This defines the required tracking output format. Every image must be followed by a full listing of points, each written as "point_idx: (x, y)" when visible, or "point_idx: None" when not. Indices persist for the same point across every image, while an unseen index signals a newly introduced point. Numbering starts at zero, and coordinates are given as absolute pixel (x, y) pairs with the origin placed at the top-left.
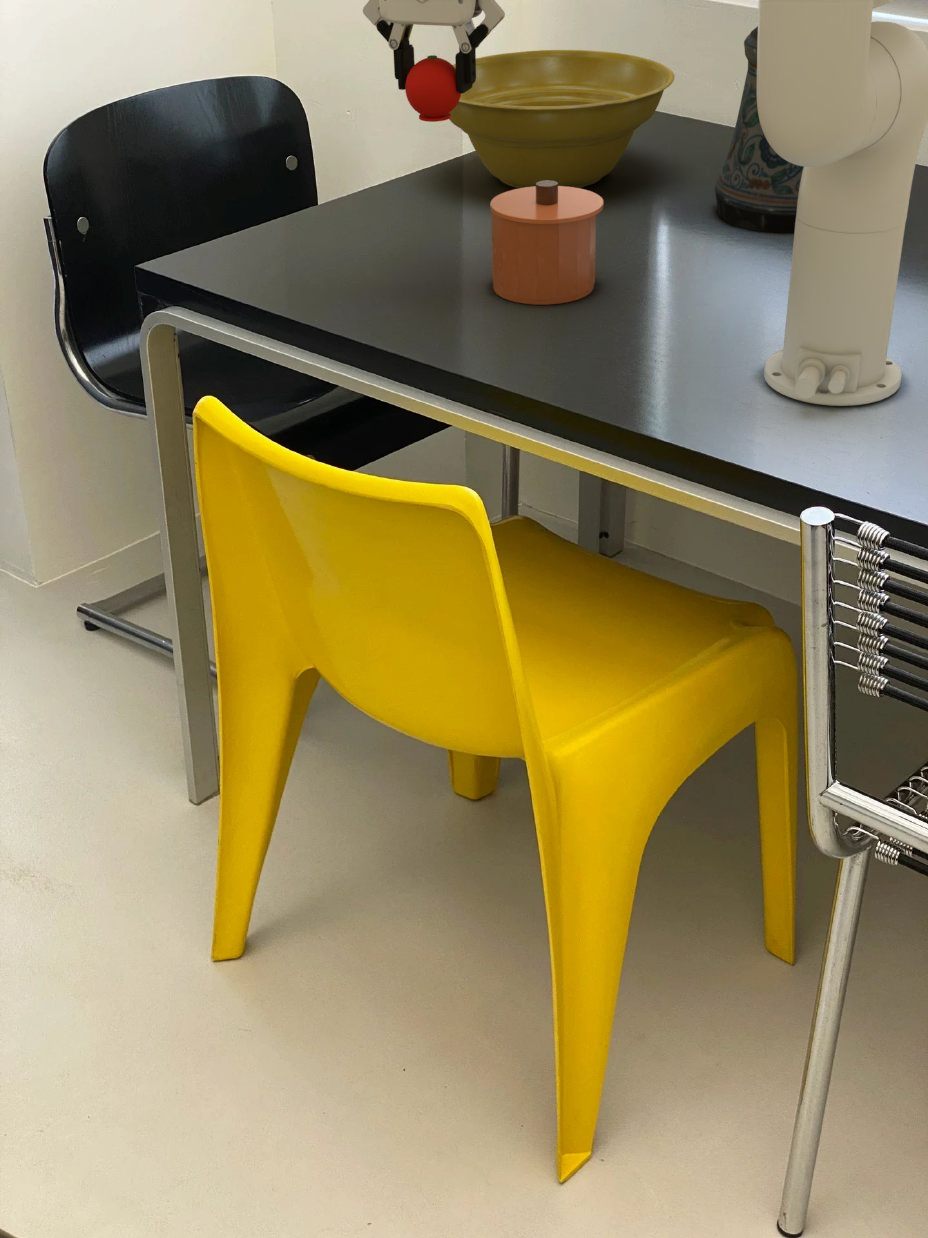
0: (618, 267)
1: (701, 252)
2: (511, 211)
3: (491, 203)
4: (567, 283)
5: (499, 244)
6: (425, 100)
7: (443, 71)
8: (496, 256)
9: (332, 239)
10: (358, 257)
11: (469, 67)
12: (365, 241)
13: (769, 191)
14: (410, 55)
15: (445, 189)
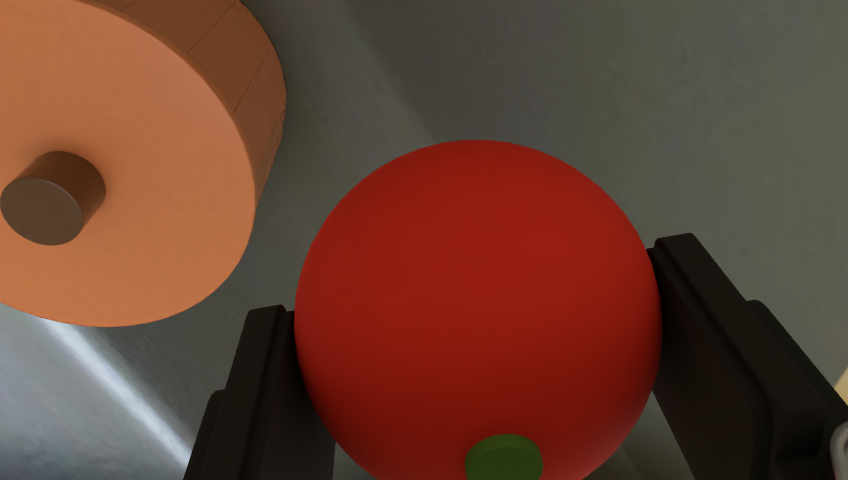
0: None
1: (34, 390)
2: (89, 45)
3: (211, 94)
4: None
5: (164, 3)
6: (430, 149)
7: (350, 354)
8: (198, 8)
9: (802, 146)
10: (690, 66)
11: (198, 457)
12: (717, 168)
13: None
14: (717, 470)
15: (673, 465)
